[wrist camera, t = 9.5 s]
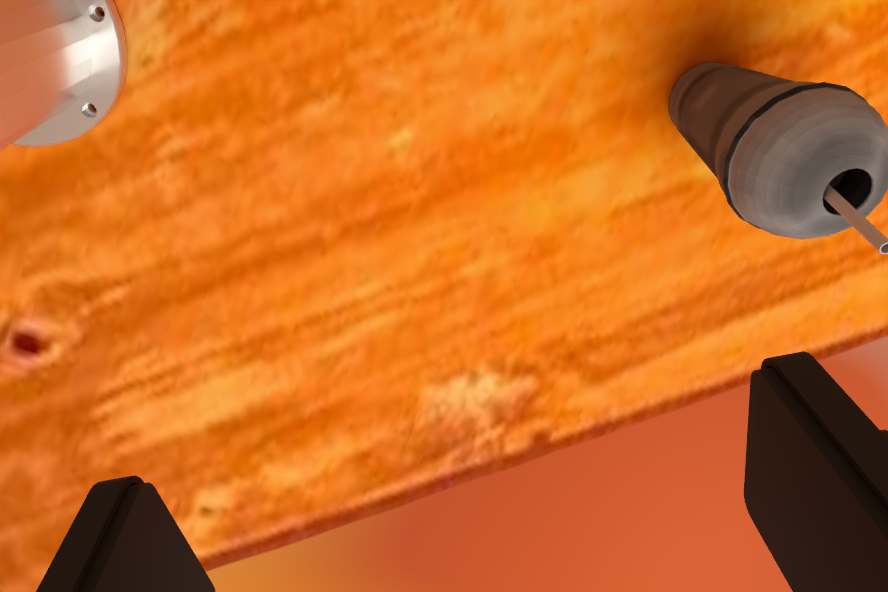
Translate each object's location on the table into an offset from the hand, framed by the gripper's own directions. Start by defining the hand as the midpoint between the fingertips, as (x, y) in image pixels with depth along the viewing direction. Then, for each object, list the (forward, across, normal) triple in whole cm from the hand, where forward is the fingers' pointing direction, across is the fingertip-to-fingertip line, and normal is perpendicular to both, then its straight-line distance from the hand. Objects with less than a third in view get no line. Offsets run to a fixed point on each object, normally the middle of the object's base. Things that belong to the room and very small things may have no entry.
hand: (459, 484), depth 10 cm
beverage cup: (+34, -17, +6) cm, 38 cm away
